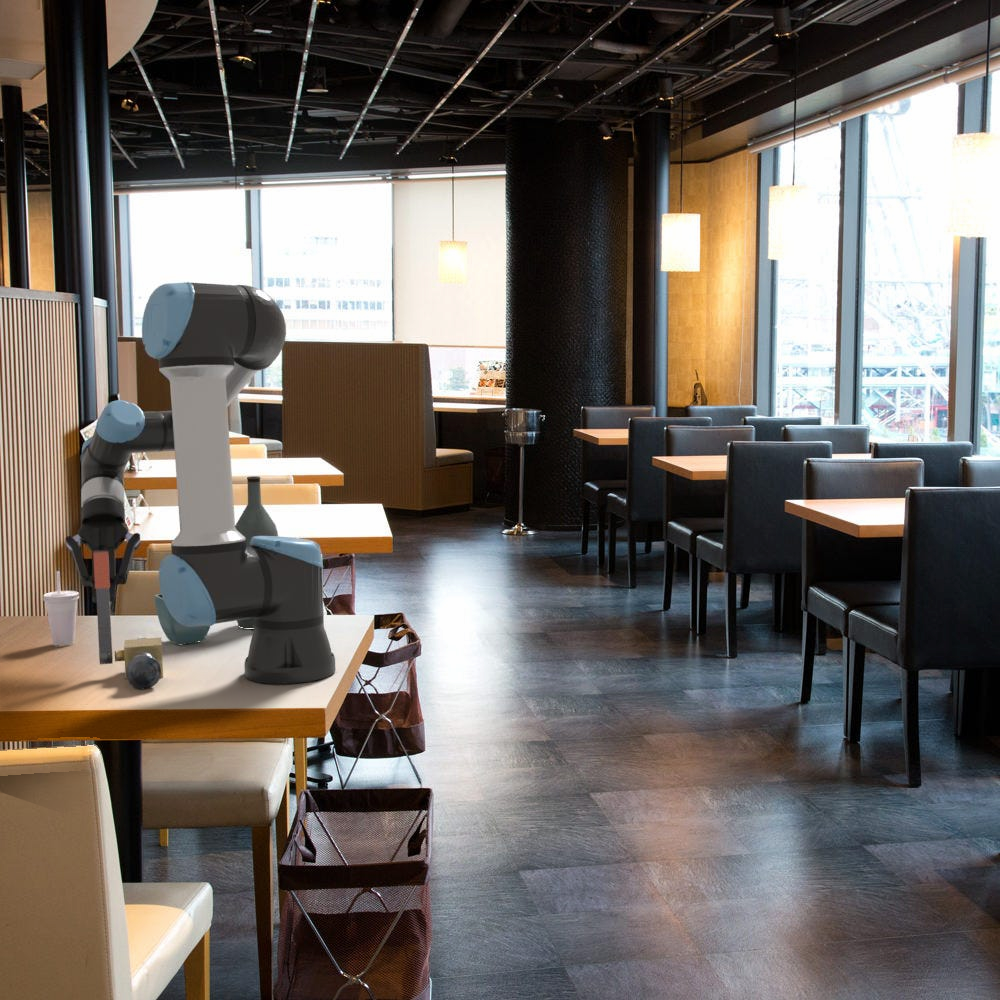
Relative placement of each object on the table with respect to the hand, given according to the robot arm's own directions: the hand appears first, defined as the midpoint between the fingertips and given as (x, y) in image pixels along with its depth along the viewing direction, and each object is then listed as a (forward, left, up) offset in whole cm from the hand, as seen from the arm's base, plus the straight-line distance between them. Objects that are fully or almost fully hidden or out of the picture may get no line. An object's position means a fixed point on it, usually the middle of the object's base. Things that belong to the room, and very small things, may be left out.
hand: (104, 616), depth 204 cm
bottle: (+5, -40, -10) cm, 41 cm away
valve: (-10, 0, -10) cm, 14 cm away
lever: (-4, +3, -7) cm, 9 cm away
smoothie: (+24, -8, -10) cm, 28 cm away
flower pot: (+6, -22, -10) cm, 25 cm away
